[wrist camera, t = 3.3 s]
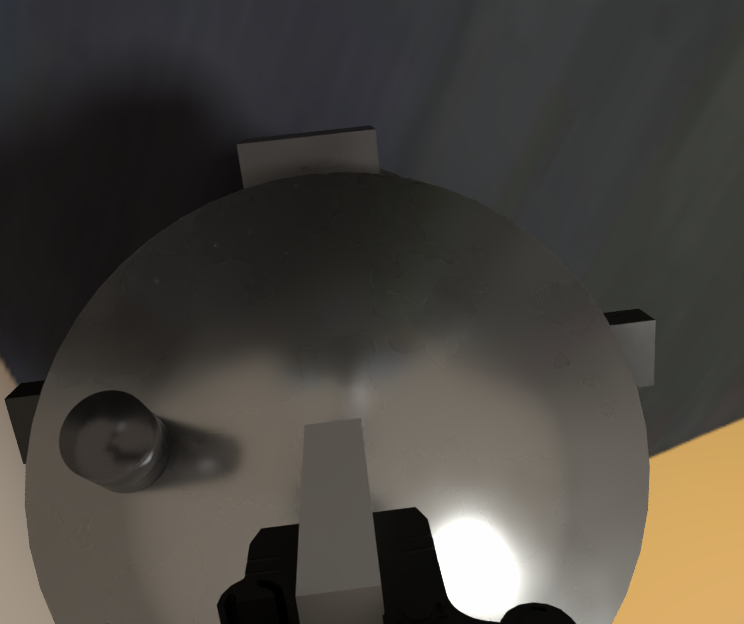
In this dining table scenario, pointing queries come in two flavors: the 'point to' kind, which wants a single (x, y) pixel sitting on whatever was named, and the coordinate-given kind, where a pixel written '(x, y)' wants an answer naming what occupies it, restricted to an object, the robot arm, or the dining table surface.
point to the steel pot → (330, 156)
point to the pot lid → (337, 404)
